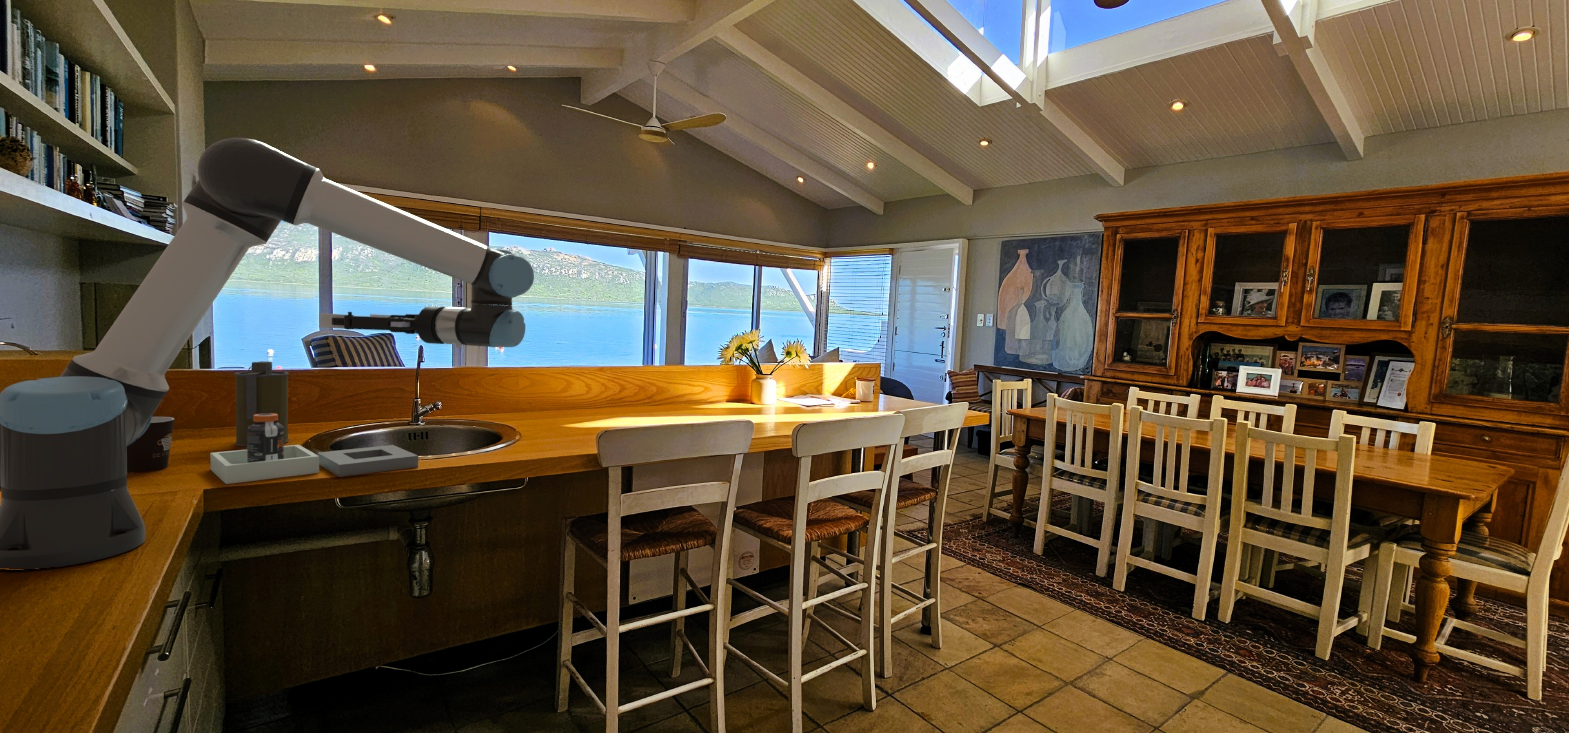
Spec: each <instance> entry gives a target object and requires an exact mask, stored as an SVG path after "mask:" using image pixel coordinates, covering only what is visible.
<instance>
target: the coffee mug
mask: <svg viewBox="0 0 1569 733" xmlns="http://www.w3.org/2000/svg"><path fill="white" fill-rule="evenodd" d="M174 423H175V418H174V417H170V416H153V417H152V418H151V423H150V425H149V427H148V428H147V430H146V431H145V432H144V434H143V435H142V436H141V437H140V438H138V439H136V441H134V442H133V443H132V444H130V445H128V446H126V450H127V473H148V472H156V471H163V470H165V469H167V468H168V467H169V458H170V453H171V452H170V451H171V445H172V439H173V438H172V437H173V432H174Z"/></svg>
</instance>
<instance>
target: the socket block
mask: <svg viewBox="0 0 1569 733" xmlns="http://www.w3.org/2000/svg"><path fill="white" fill-rule="evenodd" d="M317 455H318V456H319V467H320V466H321V467H322V468H324V469H326V470H327V471H329V472H331V473H333V474H334V475H336V476H338V477H339V478H342V477H349V476H357V475H365V474H371V473H372V474H373V473H380V472H387V471H395V470H403V469H411V468H412V469H413V468H418V467H419V455H418V454H416V453H414V452H410V451H408V450H406V449H403V448H402V447H399V446H396V445H394V444H389V445H380V446H379V445H378V446H369V447H359V448H352V449H351V448H350V449H341V450H330V451H320V452H317Z"/></svg>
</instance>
